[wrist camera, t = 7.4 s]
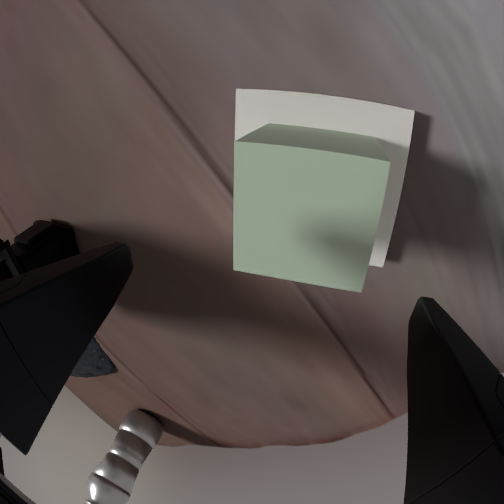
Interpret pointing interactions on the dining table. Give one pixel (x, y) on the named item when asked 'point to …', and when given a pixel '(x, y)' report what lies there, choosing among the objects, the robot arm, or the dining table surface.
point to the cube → (307, 204)
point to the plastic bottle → (124, 459)
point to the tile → (339, 119)
